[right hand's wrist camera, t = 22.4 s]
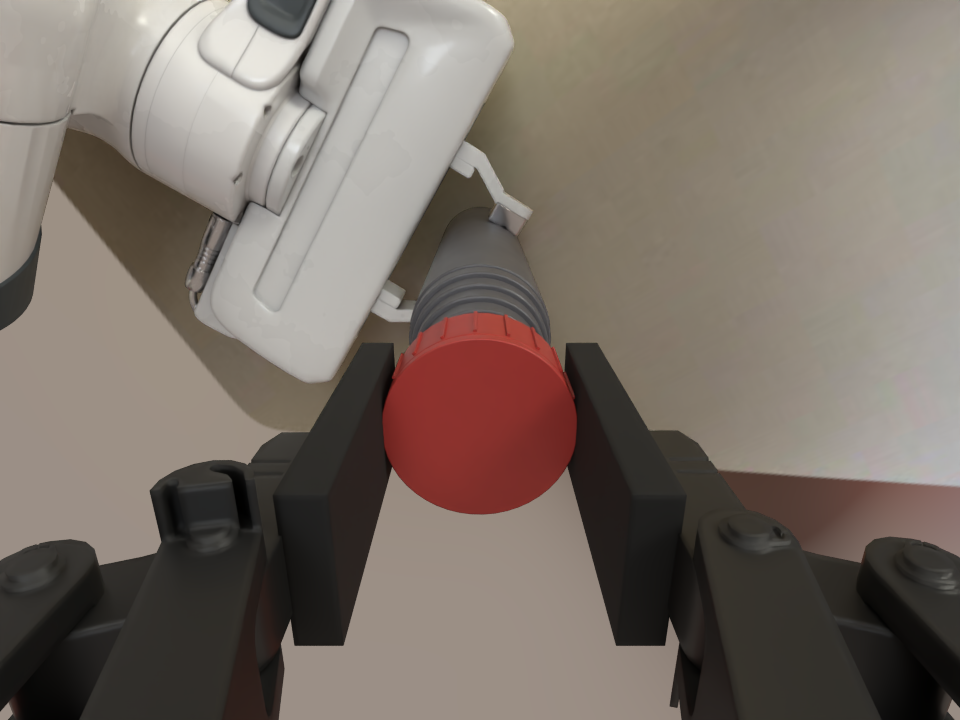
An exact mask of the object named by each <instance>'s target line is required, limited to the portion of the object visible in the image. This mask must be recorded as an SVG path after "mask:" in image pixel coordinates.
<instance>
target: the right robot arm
mask: <svg viewBox="0 0 960 720" xmlns="http://www.w3.org/2000/svg"><path fill="white" fill-rule="evenodd" d="M394 371H395V363H394V345H393V343H362V345H361V346H360V348H359V350H358V351H357V353H356V355H355V356H354V358H353V360H352V362H351V363H350V365H349V367H348V368H347V370H346V372H345V373H344V375H343V377H342V378H341V380H340V382H339V384H338V385H337V387H336V389H335V390H334V392H333V394H332V395H331V397H330V399H329V400H328V402H327V404H326V406H325V407H324V409H323V411H322V412H321V414H320V416H319V417H318V419H317V421H316V422H315V424H314V426H313V428H312V429H311V431H310V432H298V433H280V434H279V435H277V436H276V437H274V438H272V439H271V440H269V441H268V442H266V443H265V444H263V445H262V446H261V447H260V449H259V450H258V452H257V453H256V454H255V456H254V457H253V459H252V460H251V463H249V464H248V465H246V464H245V463H241V462H236V461H232V460H213V461H208V462H202V463H197V464H193V465H190V466H187V467H184V468H182V469H179V470H176V471H174V472H172V473H171V474H169V475H167V476H166V477H164V478H162V479H161V480H159V481H158V482H157V483H156V484H155V485H154V487H153V488H152V489H151V490H150V495H151V499H152V503H153V507H154V512H155V516H156V520H157V525H158V529H159V533H160V538H161V545H160V547H159V549H158V551H157V553H155V554H151V555H147V556H144V557H139V558H134V559H129V560H124V561H119V562H114V563H109V564H104V565H100V566H99V564H98V560H97V557H96V553H95V550H94V548H92V547H91V546H90V545H89V544H88V543H86V542H83V541H77V540H71V539H69V540H59V541H49V542H45V543H40V544H39V545H33V546H30V547H27V548H24V549H22V550H21V551H19V552H17V553H15V554H12V555H10V556H8V557H6V558H4V559H2V560H1V561H0V711H1V710H2V709H3V708H4V707H5V705H6V704H7V703H8V702H9V705H10V707H11V710H12V712H13V715H12V716H11V717H10V718H9V719H8V720H279V711H280V703H281V694H282V686H283V677H284V662H283V655H282V649H281V642H282V639H283V637H284V634H285V631H286V629H287V627H288V624H289V622H290V619H291V625H292V631H293V638H294V645H295V646H343V645H344V642H345V638H346V634H347V631H348V627H349V623H350V619H351V616H352V612H353V609H354V605H355V601H356V598H357V594H358V590H359V586H360V583H361V579H362V576H363V572H364V568H365V564H366V561H367V557H368V553H369V550H370V546H371V542H372V539H373V535H374V531H375V528H376V524H377V520H378V517H379V513H380V509H381V505H382V502H383V498H384V494H385V491H386V487H387V484H388V480H389V476H390V473H391V469H392V465H391V463H390V461H389V459H388V457H387V454H386V451H385V448H384V435H383V419H382V411H383V408H384V404H385V400H386V397H387V395H388V392H389V389H390V387H391V384H392V381H393V379H392V376H393V373H394ZM565 372H566V374H567V376H568V379H569V382H570V384H571V387H572V390H573V392H574V395H575V399H573V400H574V403H575V407H576V412H577V429H576V444H575V449H574V452H573V455H572V457H571V460H570V462H569V464H568V465H567V467H568V470H569V474H570V477H571V481H572V485H573V488H574V492H575V496H576V500H577V503H578V507H579V511H580V514H581V518H582V522H583V525H584V529H585V533H586V536H587V540H588V544H589V548H590V551H591V555H592V559H593V562H594V566H595V570H596V573H597V577H598V581H599V584H600V588H601V592H602V595H603V599H604V603H605V606H606V610H607V614H608V617H609V621H610V625H611V628H612V632H613V636H614V640H615V643H616V646H665V642H666V636H667V629H668V622H669V617H670V620H671V622H672V625H673V627H674V630H675V632H676V635H677V637H678V640H679V649H678V655H677V661H676V668H675V674H674V681H673V687H672V693H671V700H670V707H676V708H677V707H678V702H679V701H680V710H681V718H682V720H954V719H953V718H952V716H951V715H950V714H949V713H948V712H947V711H948V708H949V706H950V703H951V701H952V699H953V700H954V702H955V703H956V704H957V705H958V706H959V707H960V558H959V557H958V556H956V555H954V554H952V553H950V552H948V551H945V550H943V549H941V548H939V547H938V546H936V545H933V544H930V543H927V542H921V541H920V540H914V539H908V538H898V537H885V538H879V539H874V540H873V541H872V542H871V543H869V544H868V545H867V546H866V548H865V551H864V555H863V558H862V562H861V563H858V562H853V561H848V560H843V559H838V558H834V557H829V556H824V555H819V554H815V553H811V552H807V551H803V550H802V548H801V546H800V544H799V542H798V540H797V539H796V538H795V536H794V535H793V534H792V532H791V531H790V530H789V529H788V528H786V527H785V526H783V525H782V524H780V523H779V522H778V521H776V520H775V519H772V518H770V517H767V516H765V515H763V514H760V513H758V512H755V511H750V510H746V509H745V507H744V506H743V505H742V503H741V502H740V500H739V499H738V498H737V496H736V495H735V494H734V492H733V491H732V490H731V488H730V487H729V485H728V484H727V483H726V481H725V480H724V479H723V477H722V476H721V474H720V473H718V472H717V469H716V468H715V466H714V465H713V463H712V462H711V461H709V460H708V457H707V455H706V454H705V452H704V451H703V450H702V448H701V447H700V446H699V444H698V443H697V442H695V441H693V440H692V439H690V438H689V437H687V436H686V435H684V434H683V433H681V432H679V431H649V430H648V428H647V427H646V425H645V423H644V421H643V420H642V418H641V416H640V415H639V413H638V411H637V410H636V408H635V406H634V405H633V403H632V401H631V399H630V398H629V396H628V394H627V393H626V391H625V389H624V388H623V386H622V384H621V383H620V381H619V379H618V377H617V376H616V374H615V372H614V371H613V369H612V367H611V366H610V364H609V362H608V361H607V359H606V357H605V355H604V354H603V352H602V350H601V349H600V347H599V345H598V344H597V343H566V356H565Z"/></svg>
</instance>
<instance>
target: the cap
mask: <svg viewBox="0 0 960 720" xmlns="http://www.w3.org/2000/svg"><path fill="white" fill-rule="evenodd" d="M392 379H393V381H392V384H391V387H390V389H389V392H388V395H387V397H386V400H385V404H384V408H383V411H382V419H383V435H384V448H385V451H386V454H387V457H388V459H389V461H390V463H391V465H392V467H393V469H394V470H395V471H396V473H397V475H398V476H399V477H400V478H401V480H402V481H403V482H404V483H405V484H406V485H407V486H408V487H409V488H410V489H411V490H413V491H414V492H415V493H416V494H417V495H419V496H420V497H422V498H423V499H425V500H427V501H429V502H430V503H432V504H434V505H436V506H439V507H442V508H444V509H447V510H451V511H455V512H459V513H466V514H494V513H500V512H504V511H508V510H511V509H515V508H518V507H520V506H522V505H525V504H527V503H529V502H531V501H532V500H534V499H536V498H537V497H539V496H540V495H542V494H543V493H544V492H546V491H547V490H548V489H549V488H550V487H551V486H552V485H553V484H554V483H555V482H556V481H557V480H558V479H559V477H560V476H561V475H562V473H563V472H564V470H565V469H566V467H567V465H568V464H569V462H570V460H571V457H572V455H573V452H574V449H575V444H576V429H577V412H576V407H575V403H574V400H573V399H575V395H574V392H573V390H572V387H571V384H570V382H569V379H568V376H567V374H566V372H563V370H562V367H561V364H560V361H559V359H558V356H557V353H556V351H555V348H554V347H552V348H551V347H550V346H549V344H548V343H547V342H546V341H545V340H544V339H543V338H542V337H541V336H540V335H539V334H538V333H536V331H535V328H533V327H531V328H530V327H528V326H526V325H525V324H523V323H521V322H519V321H516V320H514V319H512V318H509V317H508V315H506V314H504V316H502V315H497V314H490V313H477V311H474V313H469V314H462V315H458V316H454V317H451V318H447V317H445V318H444V319H443V320H442V321H440V322H439V323H437V324H435V325H433V326H431V327H430V328H428V329H427V330H425V331H424V332H423V333H422V332H419V333H418V336H417V338H416V339H415V340H414V341H413V342H412V344H411V345H410V346H409V347H408V349H407V350H406V352H405V353H404V354H403V353H401V355H400V358H399V360H398V363H397V365H396V368H395V371H394V373H393V376H392Z"/></svg>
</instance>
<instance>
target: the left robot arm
mask: <svg viewBox="0 0 960 720" xmlns="http://www.w3.org/2000/svg"><path fill="white" fill-rule="evenodd" d="M513 49H514V40H513V35H512V32H511V28H510V25H509V23H508V20H507V19H506V18H505V16H504V15H503V14H501V13H500V12H499V11H498V10H496V9H495V8H493V7H492V6H491V5H489V4H488V3H486V2H484V1H483V0H232V1H231V2H228V1H227V0H0V330H2V329H3V328H5V327H7V326H8V325H10V324H11V323H13V322H14V321H15V320H16V319H17V318H18V317H20V316H21V315H22V314H23V312H24V311H25V310H26V309H27V307H28V305H29V304H30V302H31V299H32V296H33V290H34V283H35V276H36V270H37V263H38V256H39V249H40V243H41V236H42V231H41V223H42V219H43V215H44V212H45V208H46V204H47V200H48V197H49V193H50V189H51V185H52V182H53V178H54V174H55V170H56V167H57V163H58V159H59V156H60V152H61V148H62V144H63V141H64V137H65V133H66V129H67V128H69V129H73V130H77V131H80V132H84V133H88V134H91V135H93V136H95V137H98V138H100V139H101V140H103V141H105V142H107V143H108V144H109V145H111V146H112V147H114V148H115V149H116V150H117V151H118V152H119V153H120V154H121V155H122V156H123V157H124V158H125V159H126V160H127V161H128V162H129V163H131V164H132V165H133V166H134V167H136V168H137V169H138V170H140V171H142V172H143V173H145V174H147V175H149V176H150V177H152V178H154V179H156V180H158V181H160V182H161V183H163V184H165V185H167V186H168V187H170V188H172V189H174V190H175V191H177V192H179V193H181V194H183V195H184V196H186V197H188V198H190V199H192V200H193V201H195V202H197V203H199V204H201V205H202V206H204V207H206V208H208V209H209V210H211V211H213V213H212V215H211V217H210V219H209V222H208V225H207V227H206V229H205V232H204V234H203V237H202V240H201V244H200V248H199V252H198V254H197V256H196V259H195V261H194V262H193V263H192V264H191V266H190V267H189V269H188V272H187V275H186V279H185V287H186V288H187V289H189V301H190V305H191V307H192V309H193V311H194V314H195V316H196V318H197V319H198V320H199V321H200V322H202V323H203V324H205V325H206V326H208V327H210V328H212V329H214V330H216V331H218V332H220V333H222V334H224V335H226V336H228V337H231V338H235V339H238V340H239V341H241V342H242V343H243V344H245V345H246V346H248V347H249V348H250V349H252V350H253V351H254V352H256V353H257V354H259V355H260V356H262V357H263V358H265V359H266V360H268V361H269V362H271V363H272V364H274V365H275V366H277V367H278V368H280V369H282V370H283V371H285V372H287V373H288V374H290V375H292V376H293V377H295V378H297V379H299V380H301V381H303V382H305V383H309V384H313V383H322V382H328V381H331V380H332V379H333V377H334V376H335V375H336V373H337V372H338V370H339V368H340V367H341V365H342V363H343V361H344V360H345V358H346V356H347V354H348V352H349V351H350V349H351V347H352V345H353V343H354V341H355V340H356V338H357V336H358V334H359V332H360V330H361V329H362V327H363V325H364V323H365V321H366V320H367V318H368V316H369V314H370V312H372V313H374V314H376V315H378V316H380V317H381V318H383V319H385V320H387V321H389V322H410V320H411V316H412V312H413V309H414V306H415V304H416V301H417V300H402V298H403V296H404V294H405V293H406V292H405V289H403V288H401V287H400V286H398V285H396V284H395V283H393V282H391V281H389V280H388V279H389V278H390V276H391V274H392V272H393V270H394V268H395V267H396V265H397V263H398V261H399V259H400V257H401V256H402V254H403V252H404V250H405V248H406V247H407V245H408V243H409V241H410V239H411V237H412V236H413V234H414V232H415V230H416V228H417V226H418V225H419V223H420V221H421V219H422V217H423V216H424V214H425V212H426V210H427V208H428V206H429V205H430V203H431V201H432V199H433V197H434V195H435V194H436V192H437V190H438V188H439V186H440V185H441V183H442V181H443V179H444V177H445V175H446V174H447V172H448V170H449V168H452V169H453V170H455V171H457V172H458V173H460V174H462V175H463V176H465V177H466V178H470V177H471V176H472V174H473V173H474V171H475V168H476V169H477V171H478V172H479V174H480V176H481V178H482V180H483V182H484V183H485V185H486V187H487V189H488V191H489V193H490V194H491V196H492V198H493V200H494V202H495V204H494V205H493V207H492V209H491V211H490V213H489V214H488V219H489V220H490V221H492V222H493V223H495V224H497V225H499V226H505V227H506V229H507V231H509V232H510V233H511V234H513V235H515V236H517V237H518V236H519V234H520V232H521V231H522V229H523V228H524V226H525V225H526V223H527V221H528V220H529V218H530V216H531V215H532V213H533V210H532V209H530V208H529V207H528V206H526V205H525V204H523V203H521V202H520V201H518V200H517V199H515V198H513V197H512V196H510V195H509V194H507V193H505V192H504V189H503V187H502V185H501V183H500V181H499V179H498V178H497V176H496V174H495V172H494V170H493V168H492V166H491V164H490V162H489V161H488V159H487V157H486V155H485V153H484V152H482V151H480V150H479V149H477V148H476V147H474V146H472V145H471V144H469V143H468V142H466V141H465V139H466V137H467V135H468V133H469V132H470V130H471V128H472V126H473V124H474V122H475V121H476V119H477V117H478V115H479V113H480V112H481V110H482V108H483V106H484V104H485V102H486V101H487V99H488V97H489V95H490V93H491V91H492V90H493V88H494V86H495V84H496V82H497V81H498V79H499V77H500V75H501V73H502V71H503V70H504V68H505V66H506V64H507V62H508V60H509V59H510V57H511V55H512V53H513ZM201 292H202V295H201V297H200V299H199V301H198V298H197V293H201Z"/></svg>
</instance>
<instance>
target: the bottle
mask: <svg viewBox="0 0 960 720" xmlns="http://www.w3.org/2000/svg"><path fill="white" fill-rule="evenodd" d="M490 211H491V209H490V208H485V207H475V208H470V209H467V210H465V211H462V212H461V213H459V214H458V215H456V216H455V217H454V218H453V219H452V220H451V222H450V223H449V224H448V226H447V228H446V230H445V232H444V235H443V237H442V240H441V242H440V245H439V247H438V250H437V252H436V255H435V257H434V259H433V262H432V264H431V267H430V269H429V272H428V274H427V277H426V279H425V282H424V284H423V287H422V289H421V291H420V294H419V296H418V299H417V301H416V304H415V306H414V309H413V312H412V316H411V320H410V332H409V346H410V345H411V344H412V342H413V341H414V340H415V339H416V338H417V336H418V333H419V332H422V333H423V332H424V331H425V330H427V329H428V328H430V327H431V326H433V325H435V324H437V323H439V322H440V321H442V320H443V319H444V318H445V317H447V318H451V317H454V316H458V315H462V314H469V313H474V311H477V313H490V314H497V315H502V316H504V314H506V315H508V317H509V318H512V319H514V320H516V321H519V322H521V323H523V324H525V325H526V326H528V327H530V328H531V327H533V328H535V331H536V333H538V334H539V335H540V336H541V337H542V338H543V339H544V340H545V341H546V342H547V343H548V344H549V346H550V344H551V334H550V321H549V316H548V312H547V309H546V307H545V304H544V302H543V299H542V297H541V294H540V292H539V289H538V287H537V284H536V282H535V279H534V277H533V274H532V272H531V270H530V267H529V265H528V262H527V260H526V257H525V255H524V252H523V250H522V247H521V245H520V242H519V240H518V238H517V236H515V235H513V234H511V233H510V232H509V231H507V229H506V227H505V226H499V225H497V224H495V223H493V222H492V221H490V220H489V219H488V214H489V213H490Z"/></svg>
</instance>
